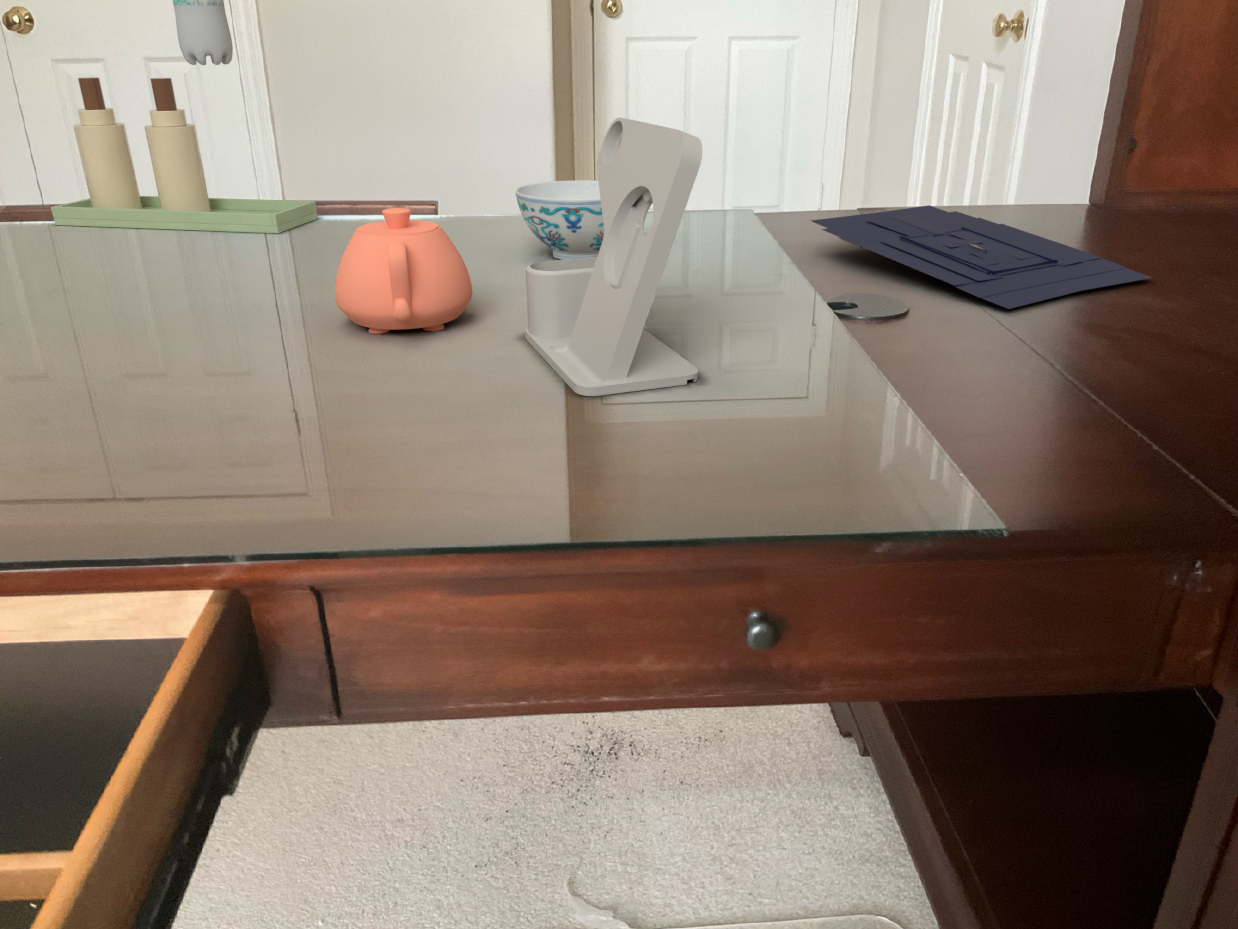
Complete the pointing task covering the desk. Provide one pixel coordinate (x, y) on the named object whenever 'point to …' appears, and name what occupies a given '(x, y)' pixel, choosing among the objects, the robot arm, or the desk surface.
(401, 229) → the orange teapot
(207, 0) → the bottle
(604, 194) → the phone holder
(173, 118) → the stoneware bottle
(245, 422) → the desk surface
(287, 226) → the tray
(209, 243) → the desk surface
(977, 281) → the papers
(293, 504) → the desk surface
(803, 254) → the desk surface
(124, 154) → the stoneware bottle
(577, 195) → the chinaware
